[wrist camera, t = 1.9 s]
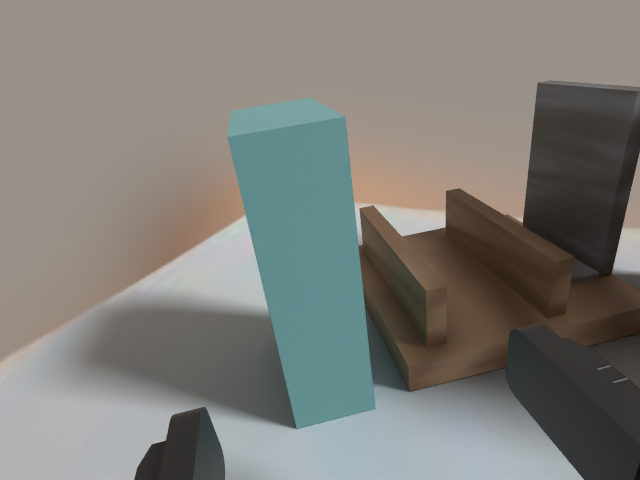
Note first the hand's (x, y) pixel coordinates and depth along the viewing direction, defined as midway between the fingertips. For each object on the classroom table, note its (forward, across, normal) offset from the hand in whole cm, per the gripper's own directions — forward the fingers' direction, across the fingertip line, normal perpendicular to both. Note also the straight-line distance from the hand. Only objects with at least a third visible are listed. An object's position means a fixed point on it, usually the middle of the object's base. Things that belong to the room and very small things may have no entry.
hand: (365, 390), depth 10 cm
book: (+12, 0, +10) cm, 16 cm away
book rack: (+16, -12, +10) cm, 23 cm away
